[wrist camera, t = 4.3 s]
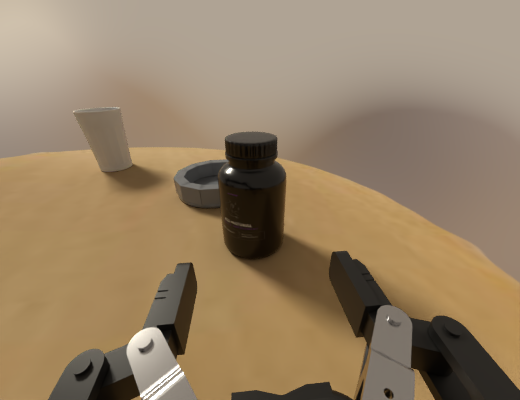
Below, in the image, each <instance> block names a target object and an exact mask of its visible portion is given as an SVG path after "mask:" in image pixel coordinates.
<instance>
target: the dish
mask: <svg viewBox="0 0 520 400" xmlns="http://www.w3.org/2000/svg"><path fill="white" fill-rule="evenodd" d="M227 162H228V160H209V161H205V162H200V163H195V164H192V165H189V166H187V167H185V168H183V169H181V170H179V171H178V172H177V174H176V175H175V177H174V183H175V187H176V192H177V194H178V195H179V198H180V200H181V201H182V202H184V203H185V204H187V205H190V206H193V207H199V208H220V198H219V188H218V173H219V171H220V169H221V167H222V166H223V165H224V164H225V163H227Z"/></svg>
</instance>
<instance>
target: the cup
mask: <svg viewBox="0 0 520 400" xmlns="http://www.w3.org/2000/svg"><path fill="white" fill-rule="evenodd" d="M73 113H74V115H75V117H76V119H77V121H78V123H79V125H80V127H81V129H82V130H83V132H84V135H85V137H86V139H87V141H88V143H89V145H90V147H91V149H92V151H93V153H94V155H95V157H96V160H97V162H98V164H99V167H100V169H101V171H103V172H114V171H120V170H124V169H127V168H129V167H131V166H132V165H133V163H132V160H131V157H130V152H129V148H128V143H127V139H126V134H125V130H124V125H123V120H122V115H121V110H120V108H118V107H105V108H90V109H82V110H75V111H73Z"/></svg>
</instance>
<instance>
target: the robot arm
mask: <svg viewBox="0 0 520 400" xmlns="http://www.w3.org/2000/svg"><path fill="white" fill-rule="evenodd" d="M329 277H330V281H331V283H332V286H333V288H334V290H335V292H336V294H337V297H338V299H339V301H340V303H341V305H342V307H343V310H344V312H345V314H346V316H347V318H348V321H349V323H350V325H351V327H352V329H353V332H354V334H355V336H356V338H357V337H364V338H365V340H366V342H367V343H366V347H365V352H364V356H363V361H362V366H361V370H360V375H359V380H358V384H357V388H356V391H355V395H354V399H351V398H349V397H348V396H346V395H344V394H342V393H340V392H337V391H334V390H332V389H331V386H330V383H329V382H324V383H315V384H306V385H304V386H302V387H300V388H297V389H295V390H293V391H291V392H289V393H287V394H285V395H277V394H272V393H267V392H262V391H257V390H254V391H245V392H236V393H232V398H231V400H414V387H415V374H414V370H413V369H417V370H419V372H420V374H421V376H422V377H423V379H424V381H425V383H426V385H427V386H428V388H429V390H430V392H431V393H432V395H433V397H434V399H435V400H520V390H519V389H518V388H517V387H516V386H515V384H514V383H513V382H512V381H511V380H510V379H509V377H508V376H507V375H506V374H505V373H504V372H503V370H502V369H501V368H500V367H499V366H498V365H497V363H496V362H495V361H494V360H493V359H492V358H491V356H490V355H489V354H488V353H487V352H486V351H485V349H484V348H483V347H482V346H481V345H480V344H479V342H478V341H477V340H476V339H475V338H474V337H473V335H472V334H471V333H470V332H469V331H468V330H467V329H466V327H464V326H463V325H462V324H461V323H459V322H458V321H456V320H454V319H452V318H450V317H447V316H436V317H434V318H433V320H432V321H431V322H428V321H423V320H418V319H414V318H410V317H408V315H407V314H406V313H405V312H403V311H402V310H400V309H399V308H397V307H394V306H392V305H391V303H390V302H389V300H388V299H387V297H386V296H385V294H384V293H383V292H382V290H381V289H380V287H379V286H378V284H377V283H376V281H374V278H373V277H372V275H370V272H369V271H368V270H367V268H366V267H365V265H363V264H362V263H361V262H360V261H358V260H357V259H354V260H352V258H351V257H350V255H349V253H348V252H347V251H337V252H332V256H331V262H330V268H329ZM196 294H197V281H196V276H195V272H194V268H193V264H192V263H179V264H177V266H176V269H175V272H174V274H168V275H167V276H166V277H165V278H164V279H163V280H162V281H161V283H160V286H159V288H158V292H157V294H156V296H155V300H154V301H153V304H152V306H151V309H150V311H149V314H148V317H147V319H146V322H145V324H144V327H143V329H142V331H140V332H138V333H137V334H136V335H135V336H134V337H133V338H132V339H131V341H130V342H129V343H128V344H127V345H125V346H122V347H120V348H118V349H115V350H113V351H110V352H108V353H105V354H104V353H103V352H102V351H101V350H99V349H91V350H87V351H85V352H83V353H81V354H80V355H78V356H77V357H75V358H74V359H73V360H72V361H71V362H70V363H69V364H68V366H67V367H66V368H65V370H64V372H63V373H62V375H61V377H60V379H59V381H58V382H57V384H56V386H55V388H54V390H53V391H52V393H51V395H50V397H49V399H48V400H131V399H133V398H135V397H137V396H139V395H141V398H142V400H197V398H196V396H195V394H194V392H193V390H192V388H191V386H190V384H189V382H188V380H187V379H186V377H185V375H184V373H183V371H182V369H181V368H180V367H179V365H178V363H177V361H176V358H177V355H183V354H184V353H185V348H186V344H187V339H188V334H189V329H190V324H191V319H192V314H193V309H194V304H195V299H196ZM411 368H413V369H411Z"/></svg>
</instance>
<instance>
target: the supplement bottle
mask: <svg viewBox="0 0 520 400" xmlns="http://www.w3.org/2000/svg"><path fill="white" fill-rule="evenodd" d="M225 148H226V152H225V156H226V159H227V160H228V162H227V163H225V164H224V165H223V166H222V167H221V169H220V171H219V173H218V188H219V198H220V207H221V216H222V226H223V234H224V241H225V245H226V246H227V248H228V249H229V250H230V251H231V252H232V253H233V254H235V255H237V256H239V257H243V258H248V259H258V258H263V257H266V256H269V255H271V254H273V253H274V252H275V251H277V250H278V248H279V247H280V246H281V244H282V241H283V231H284V213H285V194H286V172H285V170H284V168H283V167H282V166H281V165H280V164H279V163H278V162H276V161H275V159H276V158H277V155H278V152H277V137H276V136H275V135H273V134H270V133H265V132H241V133H234V134H231V135H228V136H227V137H226V138H225Z"/></svg>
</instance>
